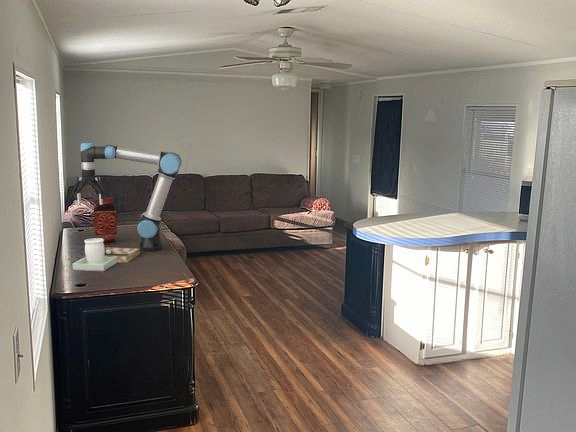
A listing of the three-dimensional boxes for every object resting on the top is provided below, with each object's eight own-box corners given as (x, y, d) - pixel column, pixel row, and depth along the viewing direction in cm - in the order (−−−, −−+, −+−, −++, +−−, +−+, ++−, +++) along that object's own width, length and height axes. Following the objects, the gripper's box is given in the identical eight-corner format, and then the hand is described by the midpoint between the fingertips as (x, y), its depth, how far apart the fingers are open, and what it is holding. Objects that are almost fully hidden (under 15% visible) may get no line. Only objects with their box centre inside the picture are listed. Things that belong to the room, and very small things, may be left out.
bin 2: (139, 254, 354) (139, 248, 353) (127, 262, 334) (127, 256, 334) (105, 252, 356) (105, 247, 355) (91, 261, 337) (91, 255, 336)
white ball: (136, 254, 352) (136, 249, 352) (134, 256, 349) (134, 250, 349) (131, 254, 353) (131, 249, 352) (129, 255, 350) (129, 250, 349)
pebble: (112, 253, 354) (111, 248, 353) (110, 255, 351) (109, 250, 350) (107, 253, 354) (107, 248, 354) (105, 254, 351) (104, 249, 351)
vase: (117, 239, 391) (114, 196, 386) (117, 244, 379) (115, 199, 373) (95, 241, 387) (93, 197, 381) (95, 245, 374) (93, 200, 369)
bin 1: (116, 262, 334) (116, 256, 333) (103, 271, 316) (103, 265, 316) (87, 261, 336) (87, 255, 335) (72, 270, 318) (72, 263, 318)
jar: (87, 268, 319) (85, 242, 316) (84, 264, 328) (83, 238, 325) (106, 266, 324) (105, 240, 321) (103, 262, 333) (102, 237, 330)
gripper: (110, 168, 344) (112, 203, 348) (71, 168, 346) (73, 202, 350) (105, 170, 337) (107, 205, 340) (65, 169, 339) (67, 204, 343)
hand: (90, 204), depth 345 cm, fingers open, 13 cm apart
